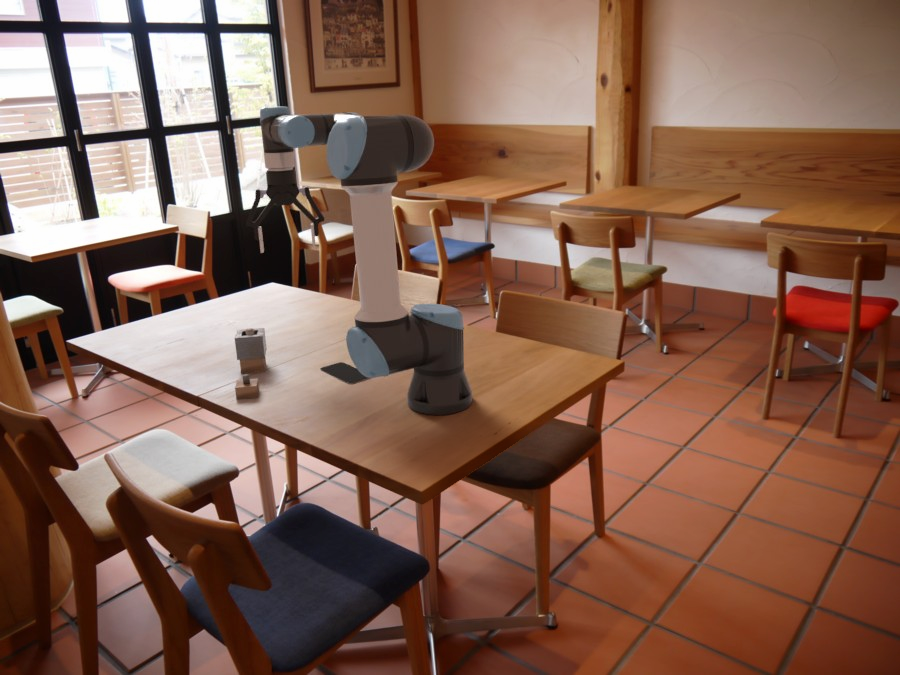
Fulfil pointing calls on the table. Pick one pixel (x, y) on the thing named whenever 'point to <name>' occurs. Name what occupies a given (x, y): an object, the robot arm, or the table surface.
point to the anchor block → (247, 388)
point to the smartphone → (344, 373)
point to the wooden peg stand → (252, 361)
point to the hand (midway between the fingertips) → (288, 250)
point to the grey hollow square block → (250, 344)
